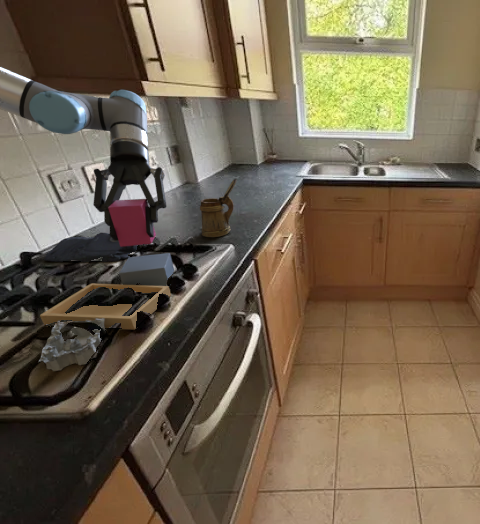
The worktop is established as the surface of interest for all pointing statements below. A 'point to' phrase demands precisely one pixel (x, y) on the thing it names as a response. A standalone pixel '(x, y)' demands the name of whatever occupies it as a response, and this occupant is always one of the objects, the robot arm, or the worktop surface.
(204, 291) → the worktop surface
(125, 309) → the tray
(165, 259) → the grey block
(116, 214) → the pink block
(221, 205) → the wooden mug
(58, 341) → the grey lumpy chunk
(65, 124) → the robot arm
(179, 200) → the worktop surface
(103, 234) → the dark slate chunk
